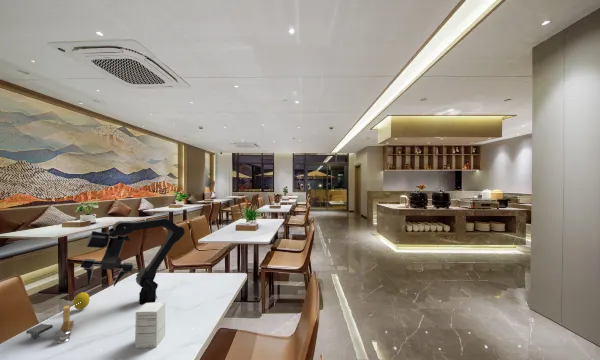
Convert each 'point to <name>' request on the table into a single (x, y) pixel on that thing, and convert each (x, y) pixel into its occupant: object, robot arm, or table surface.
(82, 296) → the lemon
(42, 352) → the table surface
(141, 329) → the supplement box
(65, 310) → the link
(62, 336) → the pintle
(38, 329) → the block
